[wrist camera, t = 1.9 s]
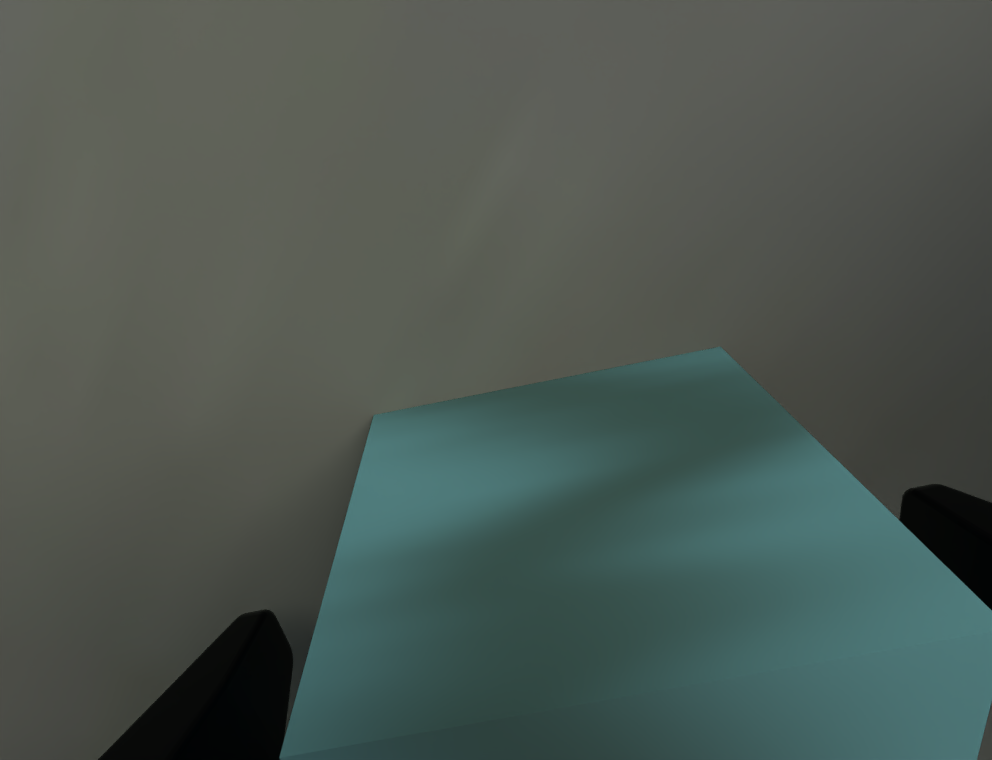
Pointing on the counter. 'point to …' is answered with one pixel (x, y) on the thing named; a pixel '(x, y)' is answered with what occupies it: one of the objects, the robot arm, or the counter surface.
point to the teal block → (632, 588)
